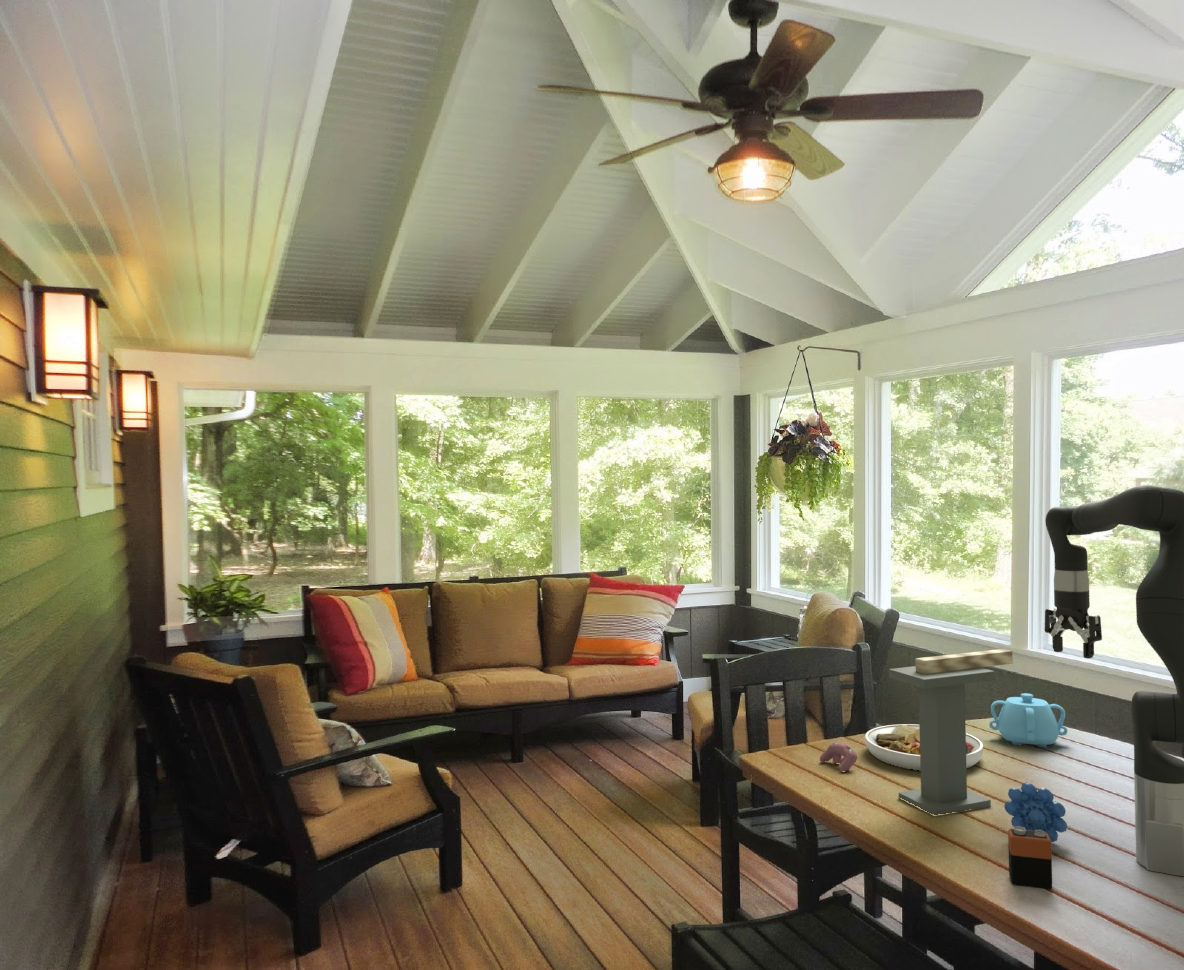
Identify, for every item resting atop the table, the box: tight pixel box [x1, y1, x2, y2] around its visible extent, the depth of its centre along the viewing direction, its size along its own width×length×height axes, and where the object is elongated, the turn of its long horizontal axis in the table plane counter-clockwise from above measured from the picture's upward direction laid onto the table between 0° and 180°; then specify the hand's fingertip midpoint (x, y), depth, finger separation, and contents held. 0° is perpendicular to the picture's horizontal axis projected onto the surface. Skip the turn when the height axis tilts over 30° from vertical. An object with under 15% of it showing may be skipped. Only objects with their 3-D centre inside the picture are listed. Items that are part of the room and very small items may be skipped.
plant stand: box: [888, 665, 996, 815], centre depth 200 cm, size 20×12×31 cm, turn 110°
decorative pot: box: [989, 692, 1068, 748], centre depth 245 cm, size 16×16×14 cm
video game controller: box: [819, 742, 858, 772], centre depth 227 cm, size 10×5×7 cm, turn 22°
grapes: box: [1003, 782, 1068, 843], centre depth 177 cm, size 12×7×12 cm, turn 68°
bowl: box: [864, 723, 984, 772], centre depth 233 cm, size 30×30×8 cm
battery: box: [1007, 826, 1053, 890], centre depth 160 cm, size 4×7×10 cm, turn 71°
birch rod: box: [915, 648, 1014, 674], centre depth 202 cm, size 26×3×3 cm, turn 110°
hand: (1072, 654), depth 208 cm, fingers open, 8 cm apart
